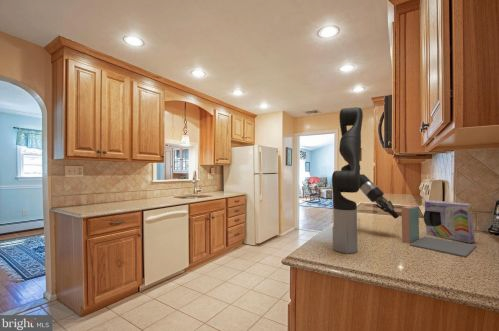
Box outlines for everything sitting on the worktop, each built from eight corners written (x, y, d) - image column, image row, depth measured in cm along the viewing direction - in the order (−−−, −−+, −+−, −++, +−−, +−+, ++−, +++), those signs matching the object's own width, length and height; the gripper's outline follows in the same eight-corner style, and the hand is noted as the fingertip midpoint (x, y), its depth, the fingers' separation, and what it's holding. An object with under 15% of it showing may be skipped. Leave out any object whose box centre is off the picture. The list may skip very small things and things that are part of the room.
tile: (410, 243, 106) (409, 208, 107) (402, 241, 109) (401, 207, 109) (419, 238, 114) (418, 205, 114) (411, 237, 116) (410, 205, 117)
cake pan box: (423, 233, 123) (422, 200, 123) (429, 232, 125) (428, 199, 125) (469, 244, 105) (468, 204, 105) (475, 242, 107) (474, 203, 107)
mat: (465, 257, 89) (465, 255, 89) (409, 245, 103) (409, 244, 103) (476, 246, 101) (476, 245, 101) (424, 237, 116) (424, 236, 116)
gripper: (370, 187, 120) (397, 214, 110) (382, 185, 128) (408, 211, 118) (360, 196, 124) (386, 223, 114) (372, 194, 132) (396, 220, 122)
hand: (397, 217), depth 116 cm, fingers closed
